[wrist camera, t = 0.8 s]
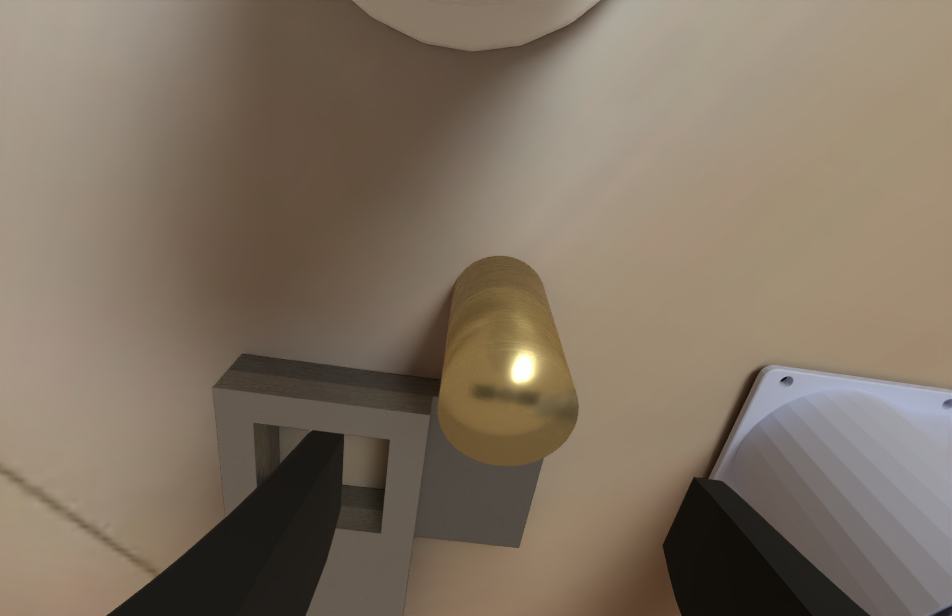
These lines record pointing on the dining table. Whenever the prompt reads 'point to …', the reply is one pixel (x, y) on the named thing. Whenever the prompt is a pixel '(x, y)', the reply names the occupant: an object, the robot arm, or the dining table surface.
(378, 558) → the upper link
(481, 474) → the lower link
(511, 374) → the pin
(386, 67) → the dining table surface
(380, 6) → the decorative container
